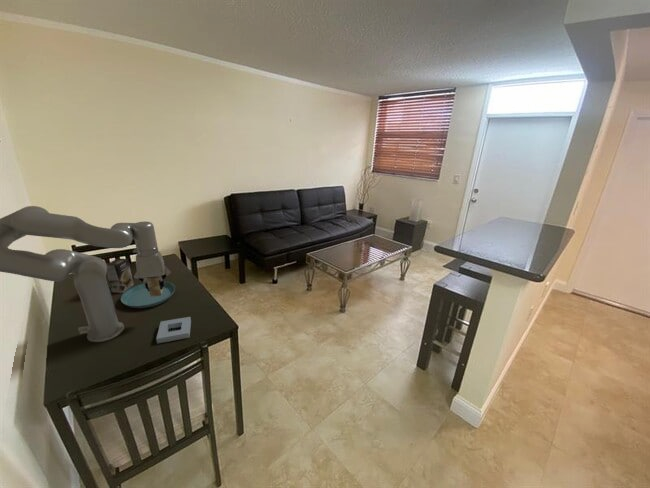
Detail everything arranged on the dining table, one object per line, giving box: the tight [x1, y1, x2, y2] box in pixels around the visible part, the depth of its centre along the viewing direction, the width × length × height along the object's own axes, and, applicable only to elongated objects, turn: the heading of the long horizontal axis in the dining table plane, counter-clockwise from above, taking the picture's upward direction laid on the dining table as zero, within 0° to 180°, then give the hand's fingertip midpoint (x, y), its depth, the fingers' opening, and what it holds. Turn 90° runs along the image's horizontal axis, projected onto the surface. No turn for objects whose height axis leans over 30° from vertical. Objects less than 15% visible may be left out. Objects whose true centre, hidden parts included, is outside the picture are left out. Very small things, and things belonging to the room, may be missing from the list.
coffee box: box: [106, 258, 134, 294], centre depth 151 cm, size 9×6×16 cm
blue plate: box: [120, 280, 176, 309], centre depth 146 cm, size 24×24×3 cm
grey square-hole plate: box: [155, 316, 192, 344], centre depth 122 cm, size 12×12×2 cm
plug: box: [147, 277, 163, 297], centre depth 124 cm, size 4×4×9 cm
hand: (155, 288), depth 125 cm, fingers closed on plug, 4 cm apart
